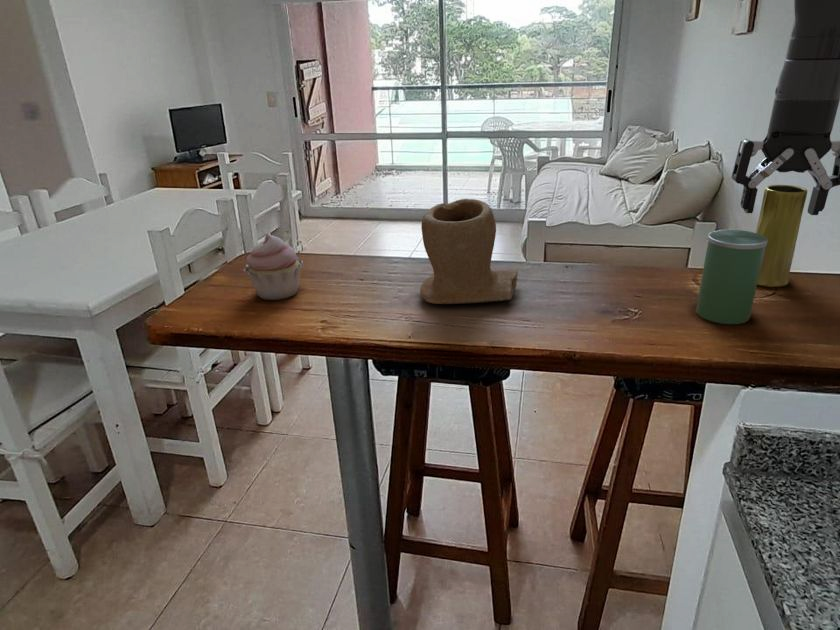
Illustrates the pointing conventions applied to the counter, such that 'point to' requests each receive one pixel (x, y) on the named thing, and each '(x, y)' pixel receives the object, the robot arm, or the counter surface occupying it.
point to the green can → (730, 276)
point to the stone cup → (463, 255)
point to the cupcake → (274, 269)
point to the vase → (779, 231)
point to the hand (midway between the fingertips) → (779, 213)
